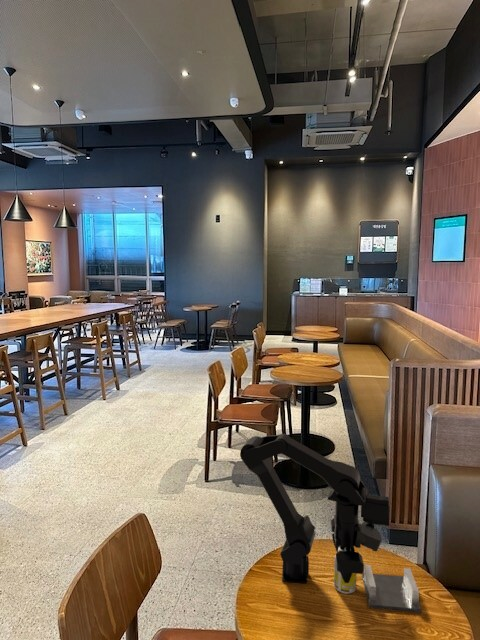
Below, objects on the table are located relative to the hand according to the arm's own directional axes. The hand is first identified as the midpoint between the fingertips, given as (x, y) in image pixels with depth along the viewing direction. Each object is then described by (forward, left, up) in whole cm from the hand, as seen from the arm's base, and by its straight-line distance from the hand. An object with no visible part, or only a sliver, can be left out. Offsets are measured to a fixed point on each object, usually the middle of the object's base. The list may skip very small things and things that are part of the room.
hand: (345, 574), depth 110 cm
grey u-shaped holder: (+11, -1, -4) cm, 12 cm away
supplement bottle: (0, 0, -4) cm, 4 cm away
